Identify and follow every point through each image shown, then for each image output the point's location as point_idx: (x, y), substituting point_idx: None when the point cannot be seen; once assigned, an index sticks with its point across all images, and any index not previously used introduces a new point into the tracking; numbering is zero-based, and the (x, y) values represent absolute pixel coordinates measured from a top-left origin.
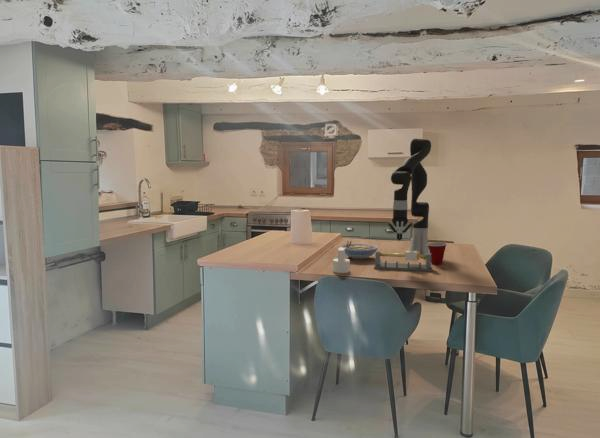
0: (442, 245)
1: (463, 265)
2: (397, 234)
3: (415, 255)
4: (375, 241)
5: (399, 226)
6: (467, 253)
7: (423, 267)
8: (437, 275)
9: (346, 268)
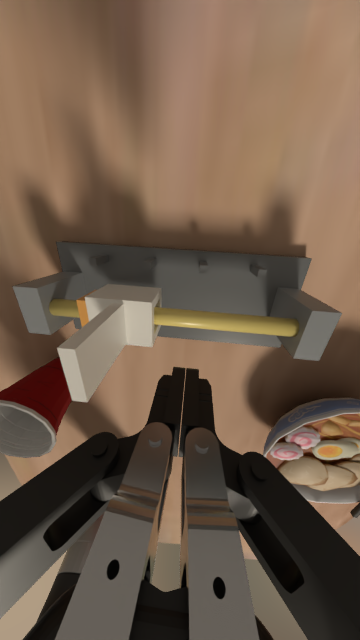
0: None
1: None
2: (206, 422)
3: (101, 292)
4: None
5: (171, 613)
6: (22, 465)
7: (93, 280)
8: (27, 168)
9: None
